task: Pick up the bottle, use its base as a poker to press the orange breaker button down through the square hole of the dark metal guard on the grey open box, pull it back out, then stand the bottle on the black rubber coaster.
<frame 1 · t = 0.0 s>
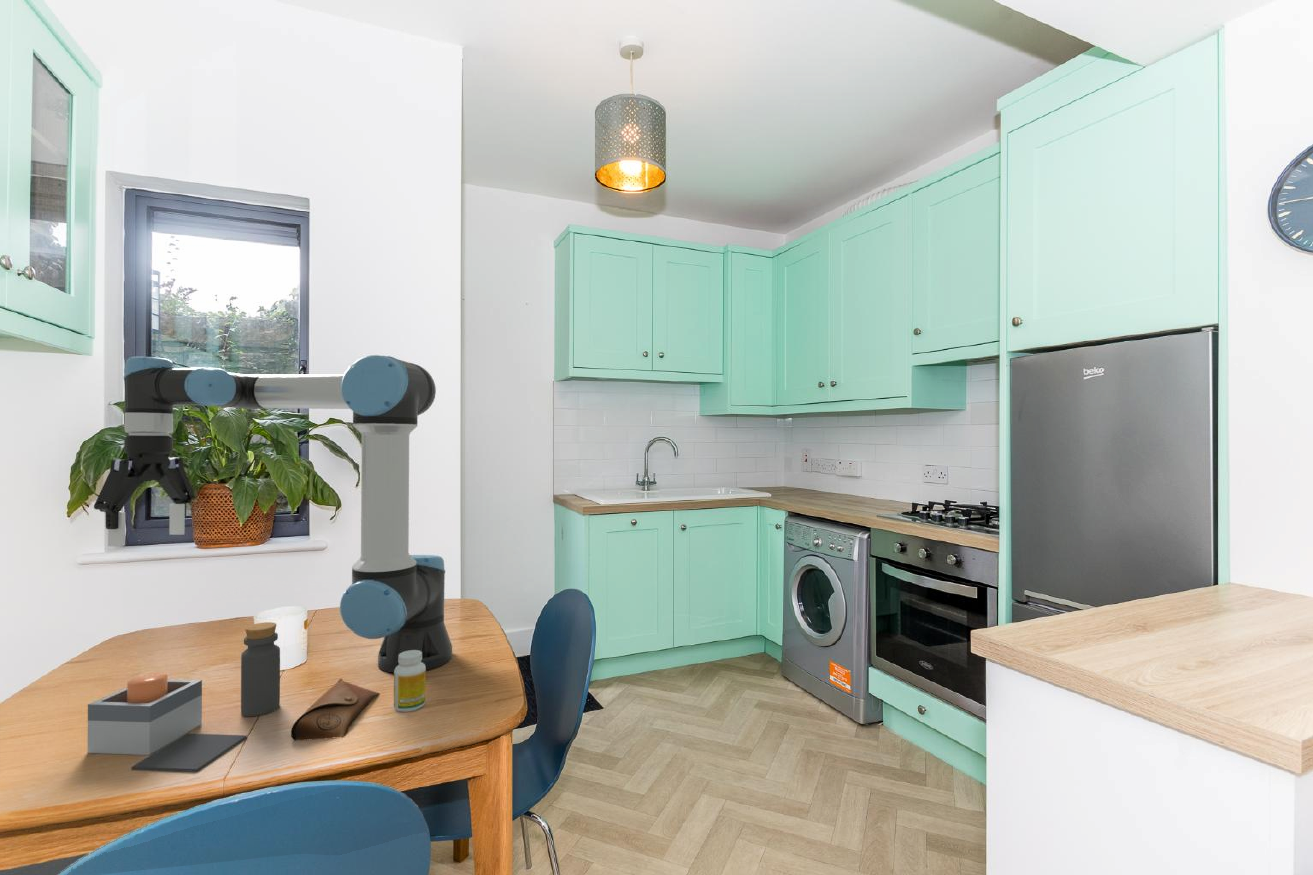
hand: (148, 540, 122), 28 cm above the table, fingers open, 13 cm apart
sunglasses case: (339, 718, 107), on the table
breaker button: (147, 697, 98), point 6 cm above the table, slide at 0.0 cm
supplement bottle: (409, 707, 110), on the table
bottle: (260, 710, 108), on the table
grey open box: (147, 737, 98), on the table
coaster: (192, 752, 93), on the table
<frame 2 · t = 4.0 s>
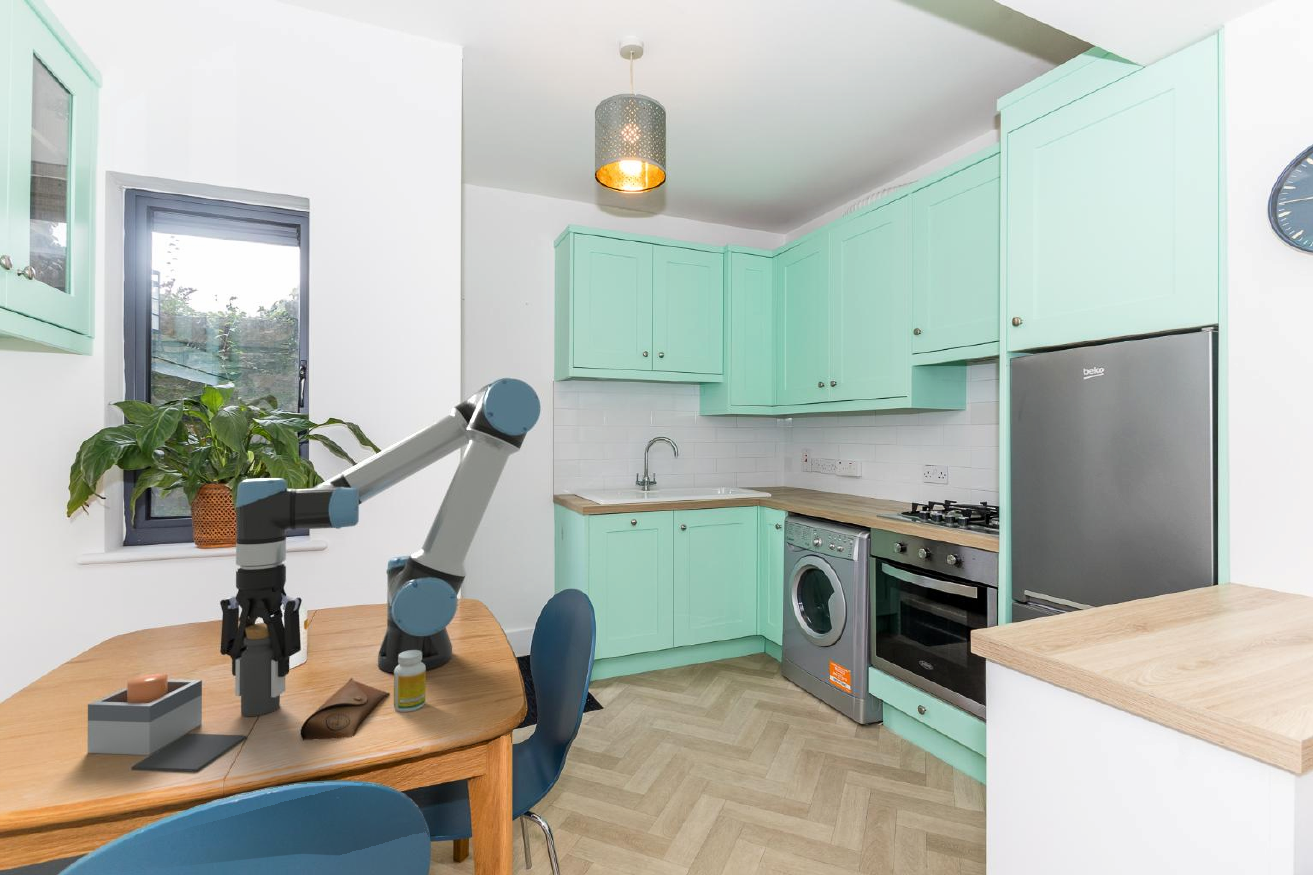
hand: (260, 693, 108), 3 cm above the table, fingers closed on bottle, 6 cm apart
sunglasses case: (349, 718, 107), on the table
bottle: (260, 710, 108), on the table, touching gripper
everything else where it was.
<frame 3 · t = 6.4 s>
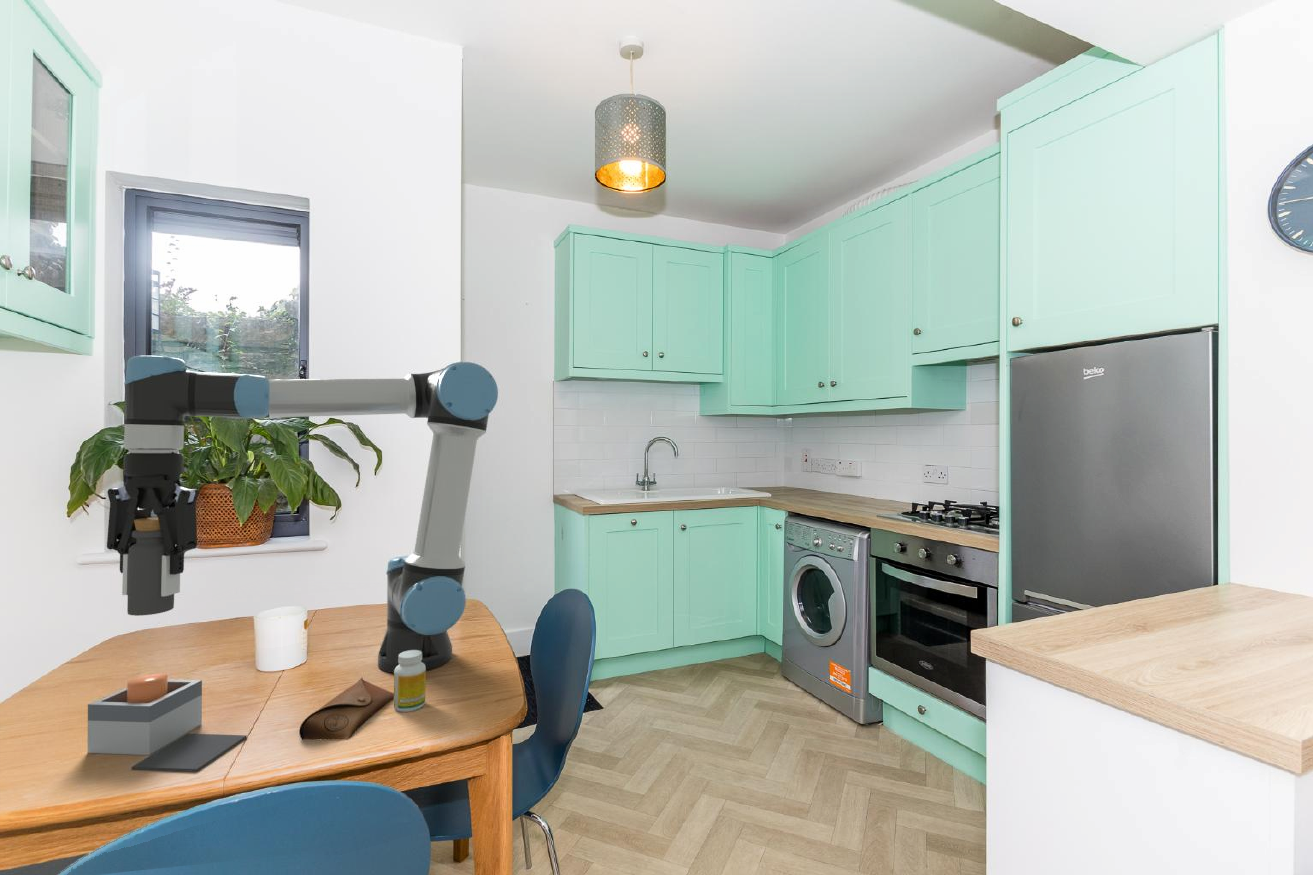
hand: (151, 593, 98), 23 cm above the table, fingers closed on bottle, 6 cm apart
bottle: (151, 611, 98), point 20 cm above the table, touching gripper
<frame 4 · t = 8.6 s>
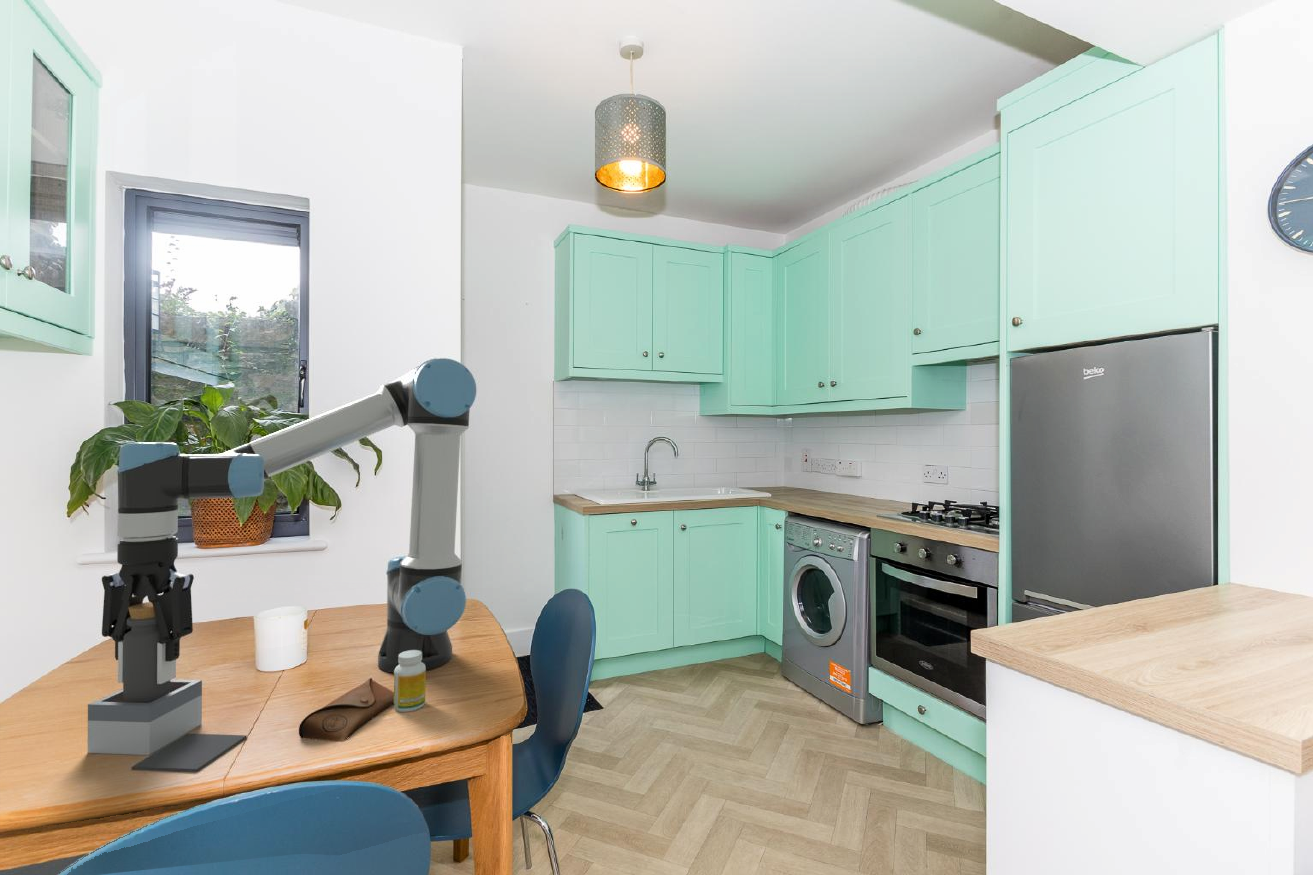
hand: (147, 679, 98), 9 cm above the table, fingers closed on bottle, 6 cm apart
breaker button: (147, 715, 98), point 4 cm above the table, slide at 2.9 cm, touching bottle
bottle: (147, 698, 98), point 6 cm above the table, touching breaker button, gripper
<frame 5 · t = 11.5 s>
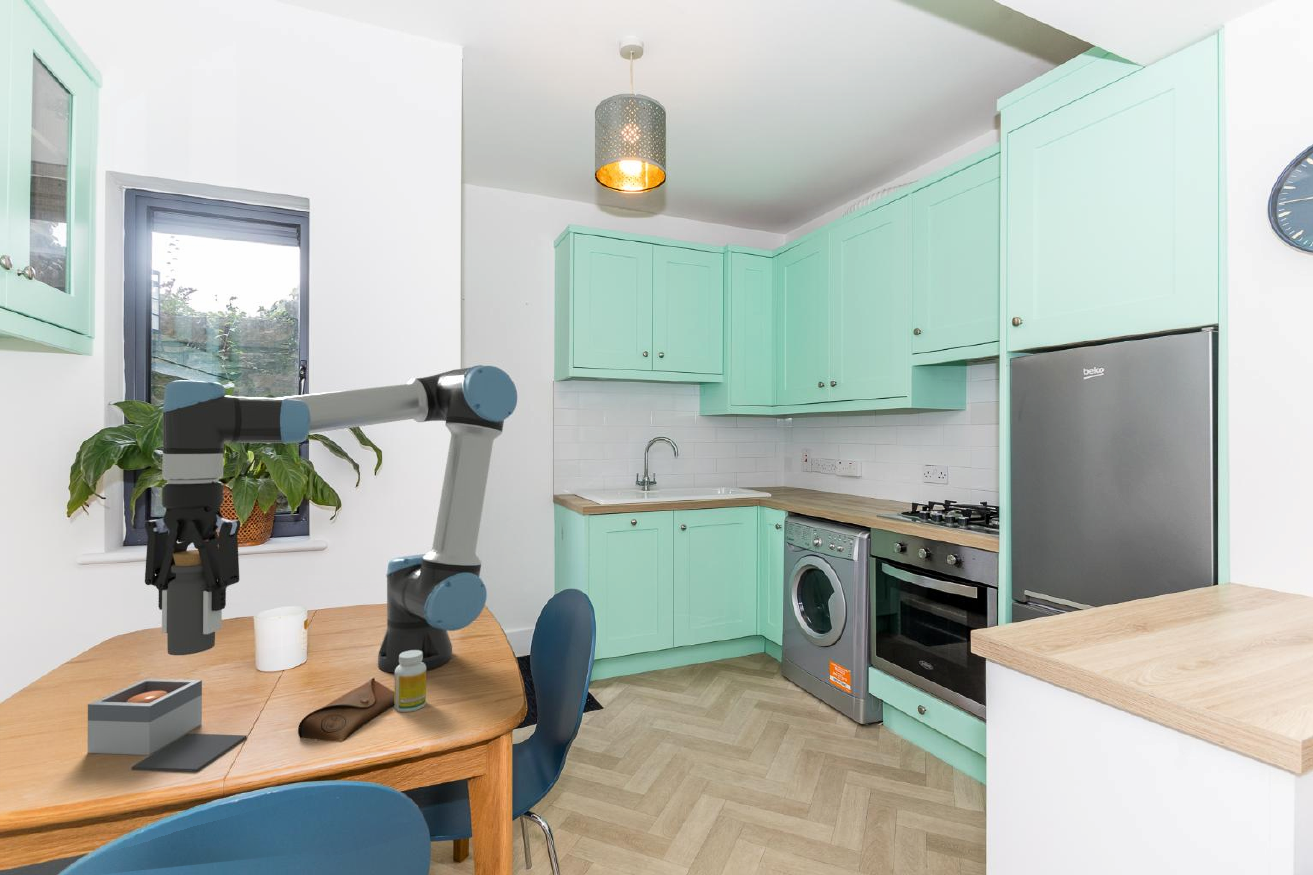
hand: (192, 630, 93), 19 cm above the table, fingers closed on bottle, 6 cm apart
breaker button: (147, 715, 98), point 4 cm above the table, slide at 2.9 cm
bottle: (191, 650, 93), point 16 cm above the table, touching gripper
when the fingers open (4 cm above the table, at t = 13.9 s): bottle drops 1 cm, resting on coaster.
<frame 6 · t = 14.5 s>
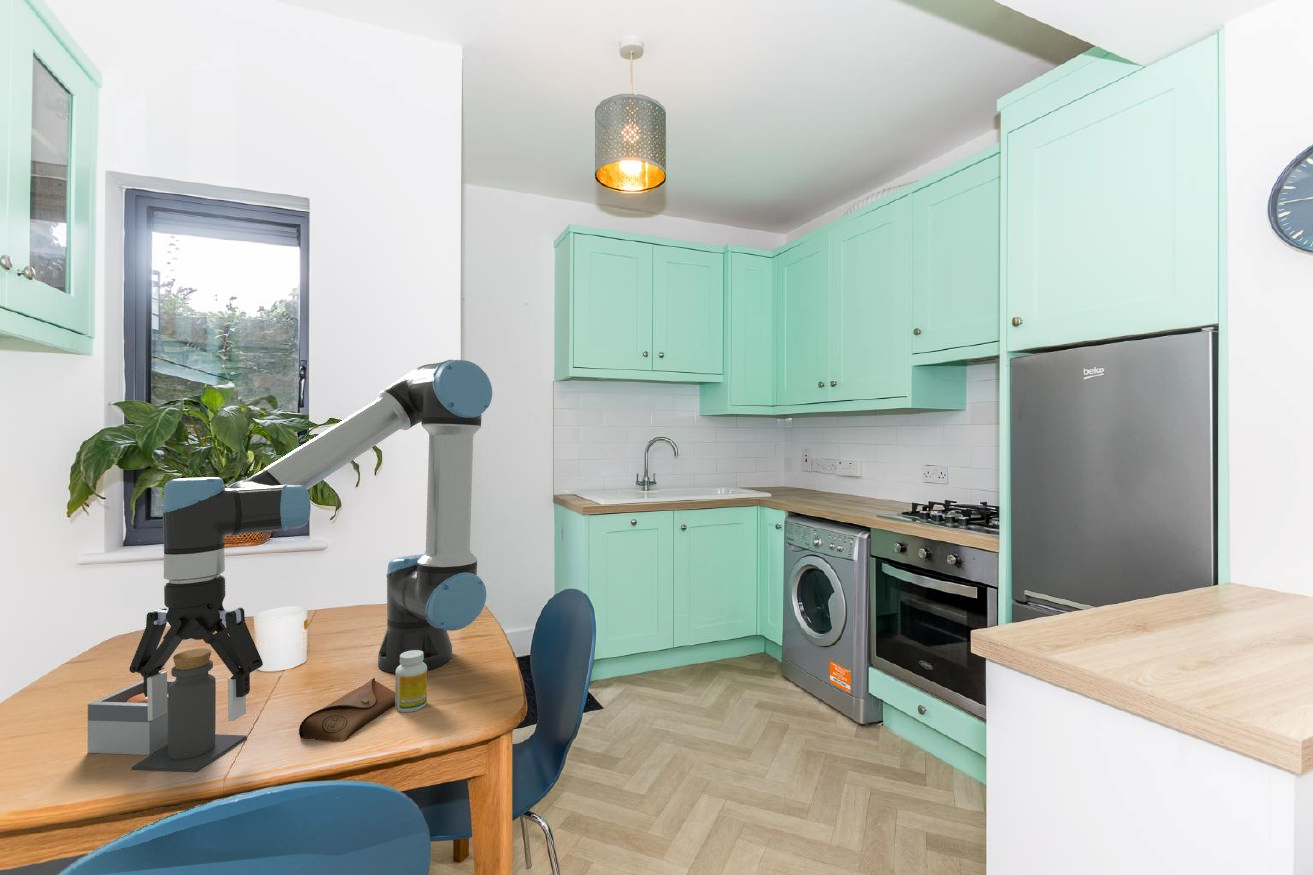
hand: (197, 716, 93), 6 cm above the table, fingers open, 12 cm apart
bottle: (192, 751, 93), resting on coaster
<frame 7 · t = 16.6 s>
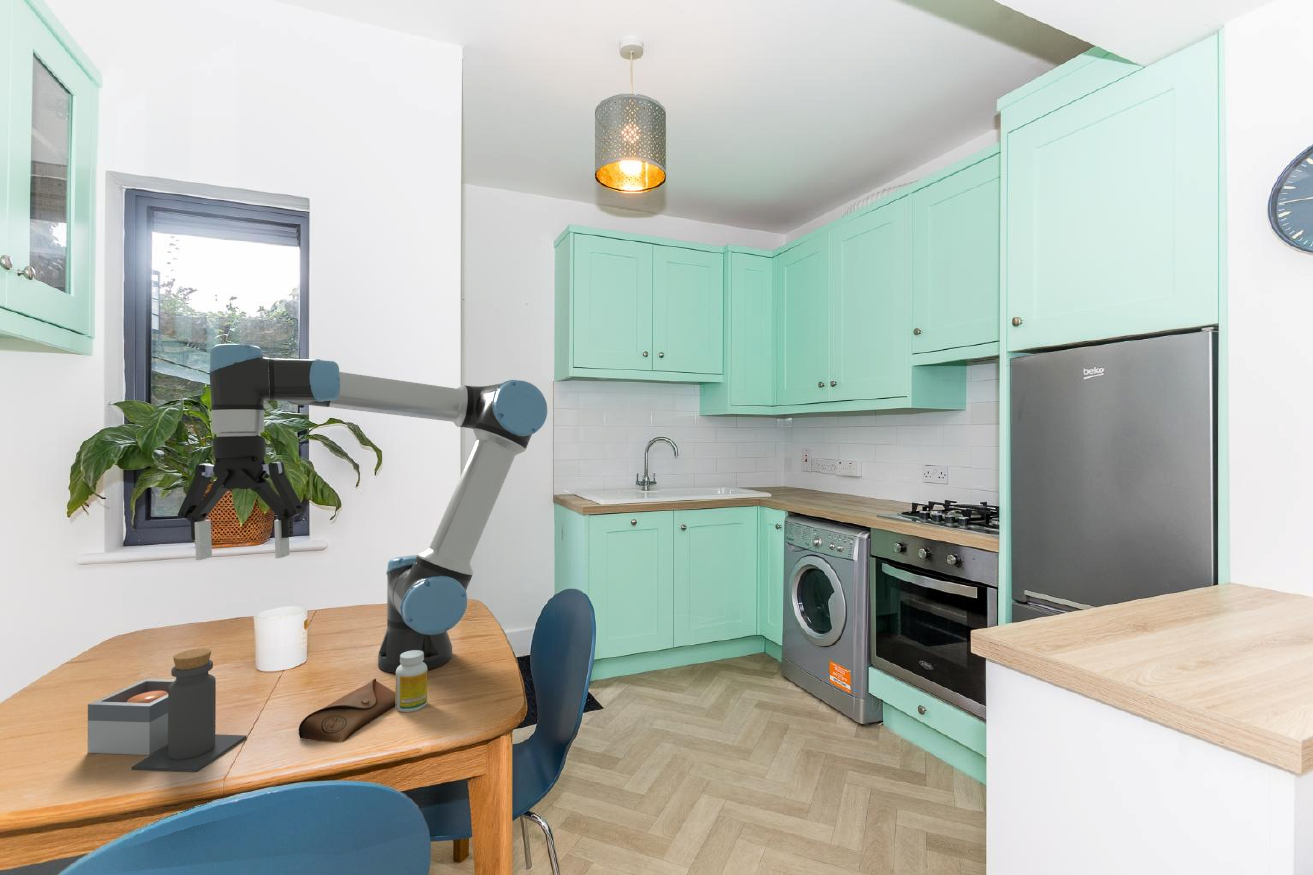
hand: (243, 557, 105), 28 cm above the table, fingers open, 13 cm apart
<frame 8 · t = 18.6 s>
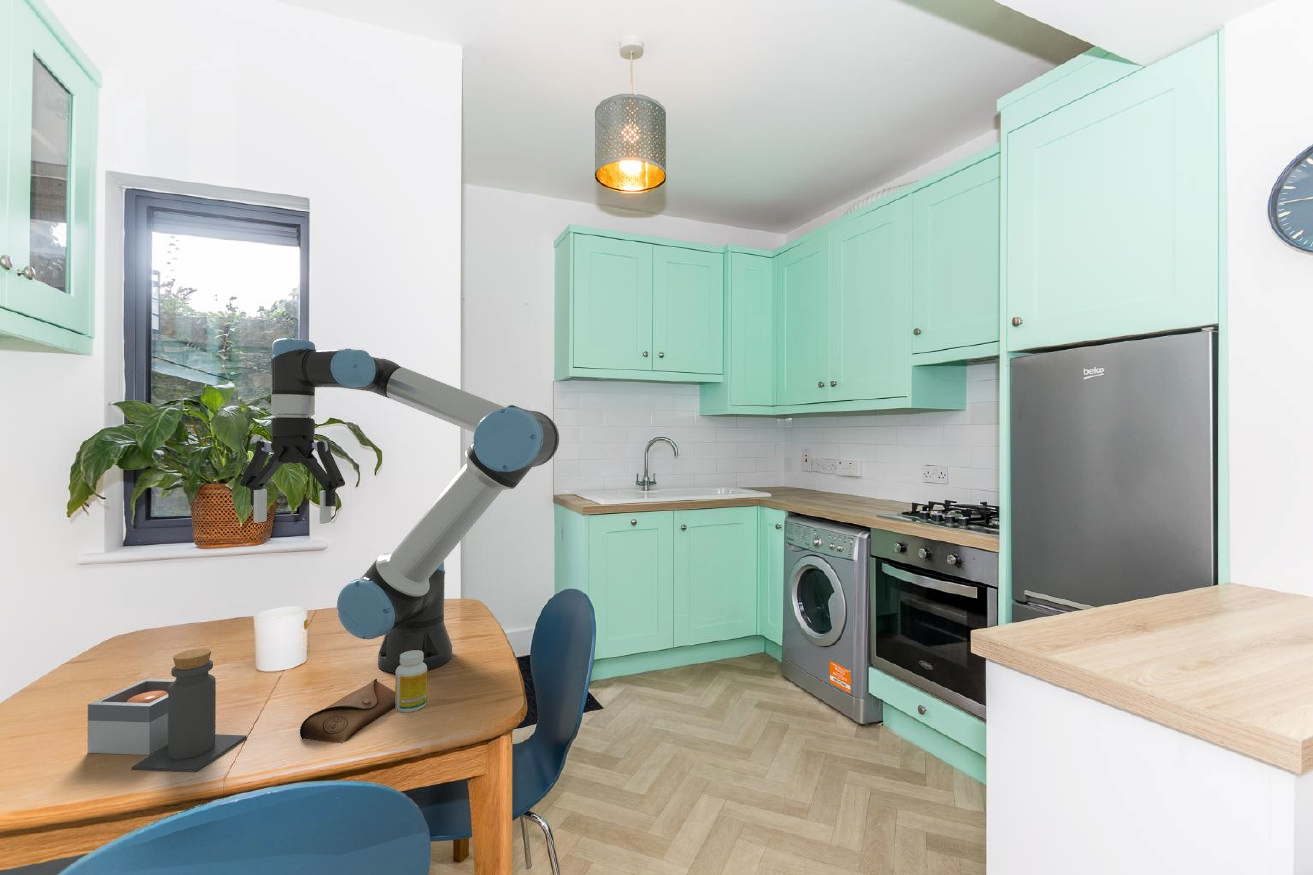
hand: (292, 522, 122), 32 cm above the table, fingers open, 13 cm apart
sunglasses case: (359, 720, 106), on the table, touching supplement bottle
supplement bottle: (411, 707, 110), on the table, touching sunglasses case
everything else where it was.
at the end: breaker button slide at 2.9 cm; bottle inside the target area on the coaster (0.0 cm from its centre), point 0.2 cm above the coaster's base; bottle touching coaster; bottle tilted 0° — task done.
